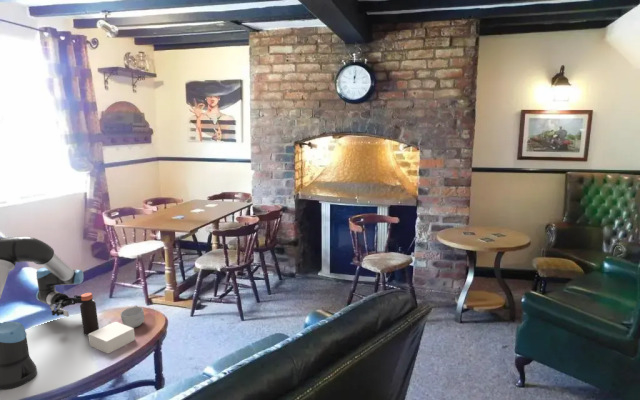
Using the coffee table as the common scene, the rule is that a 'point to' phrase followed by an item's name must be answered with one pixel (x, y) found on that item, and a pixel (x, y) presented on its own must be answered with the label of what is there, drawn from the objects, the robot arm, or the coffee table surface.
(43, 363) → the coffee table surface
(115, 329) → the riser
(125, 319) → the teacup
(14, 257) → the robot arm
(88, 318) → the vinegar
